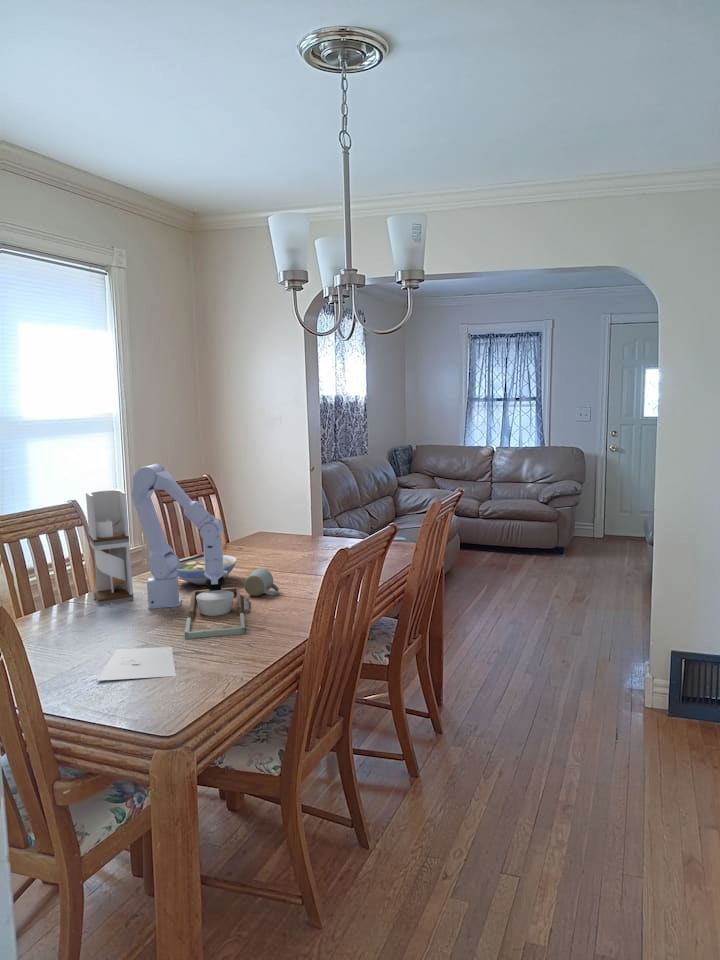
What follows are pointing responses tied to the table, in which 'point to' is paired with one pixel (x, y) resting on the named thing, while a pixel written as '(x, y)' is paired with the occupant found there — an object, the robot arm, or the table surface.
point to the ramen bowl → (200, 568)
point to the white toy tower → (110, 545)
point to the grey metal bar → (246, 605)
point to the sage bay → (214, 632)
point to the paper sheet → (139, 664)
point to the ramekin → (215, 602)
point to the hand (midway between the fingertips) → (216, 601)
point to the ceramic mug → (260, 583)
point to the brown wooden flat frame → (194, 593)
